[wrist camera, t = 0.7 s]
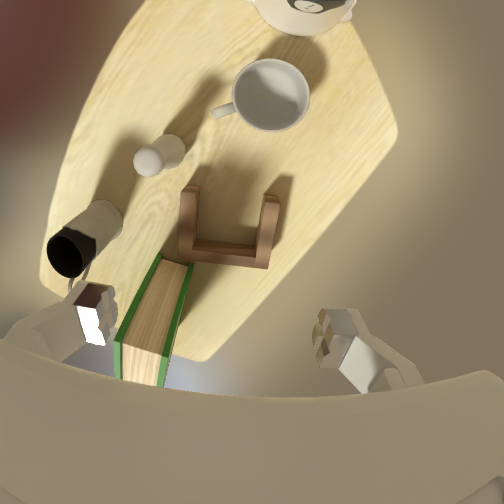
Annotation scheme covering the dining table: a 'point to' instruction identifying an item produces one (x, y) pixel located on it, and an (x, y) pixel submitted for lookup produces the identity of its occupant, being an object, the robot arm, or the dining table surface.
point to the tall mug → (84, 239)
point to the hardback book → (152, 324)
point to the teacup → (268, 95)
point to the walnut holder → (219, 250)
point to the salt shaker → (159, 155)
